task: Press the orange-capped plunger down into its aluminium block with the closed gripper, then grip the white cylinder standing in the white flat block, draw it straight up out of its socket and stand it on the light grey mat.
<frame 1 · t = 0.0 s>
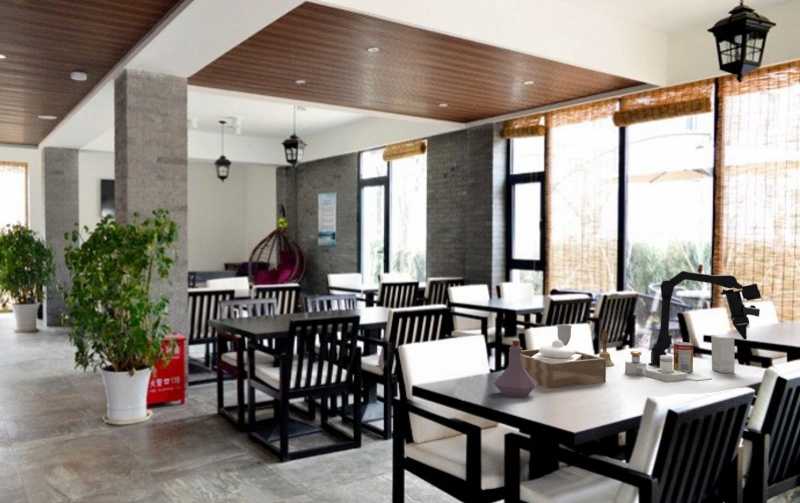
hand: (744, 337, 268), 15 cm above the table, tool pointing down, fingers open, 9 cm apart
butter dish: (555, 377, 256), resting in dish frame
flask: (515, 395, 228), on the table
skincare box: (722, 371, 272), on the table
hand bell: (604, 364, 285), on the table
mat: (694, 378, 258), on the table
chalice: (563, 364, 284), on the table
white flat block: (666, 377, 258), on the table
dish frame: (555, 377, 256), on the table
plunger: (635, 360, 265), point 6 cm above the table, slide at 0.0 cm
plunger block: (635, 373, 265), on the table
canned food: (683, 370, 273), on the table
white cylinder: (666, 366, 258), in the white flat block
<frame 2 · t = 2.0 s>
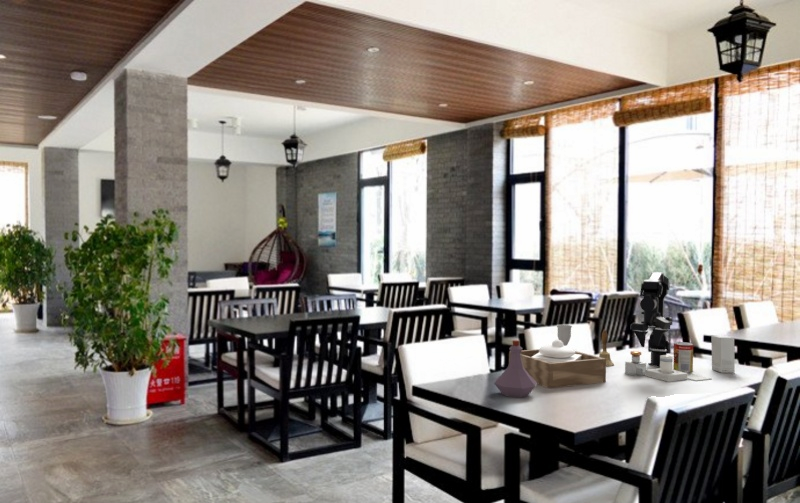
hand: (650, 346, 260), 13 cm above the table, tool pointing down, fingers open, 9 cm apart
nothing on the table moved.
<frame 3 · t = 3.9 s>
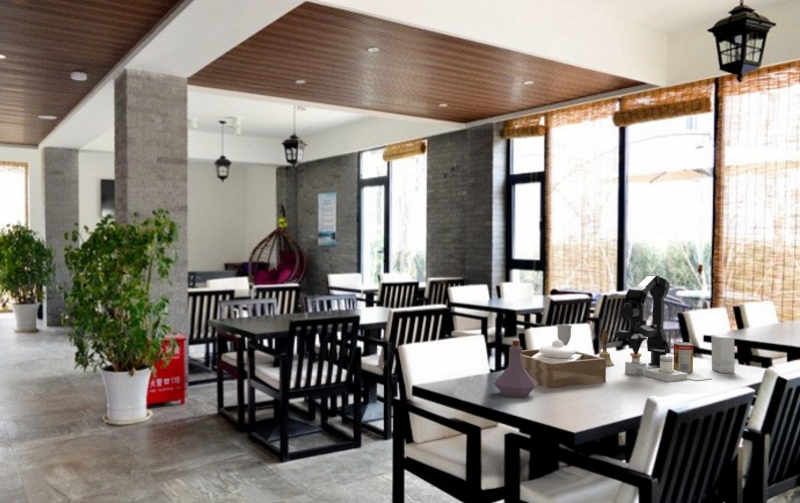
hand: (635, 353, 265), 9 cm above the table, tool pointing down, fingers closed, pressing on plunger
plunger: (635, 361, 265), point 5 cm above the table, slide at 0.7 cm, touching gripper
everything else where it was.
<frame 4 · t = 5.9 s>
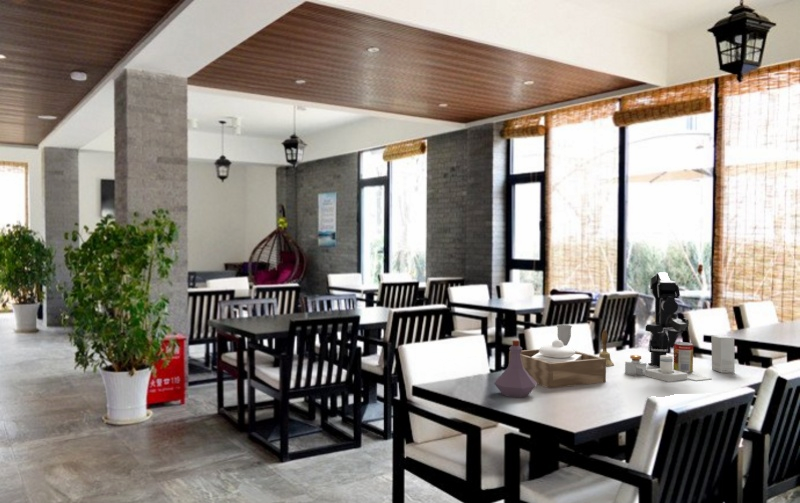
hand: (666, 347, 258), 12 cm above the table, tool pointing down, fingers open, 6 cm apart
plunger: (635, 364, 265), point 4 cm above the table, slide at 1.7 cm
everything else where it was.
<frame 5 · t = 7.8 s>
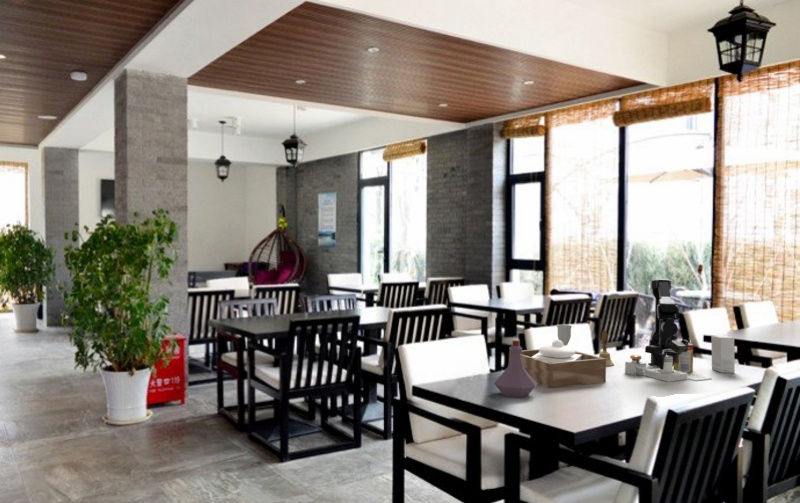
hand: (666, 369, 258), 4 cm above the table, tool pointing down, fingers closed on white cylinder, 5 cm apart
white cylinder: (666, 366, 258), in the white flat block, touching gripper
everything else where it was.
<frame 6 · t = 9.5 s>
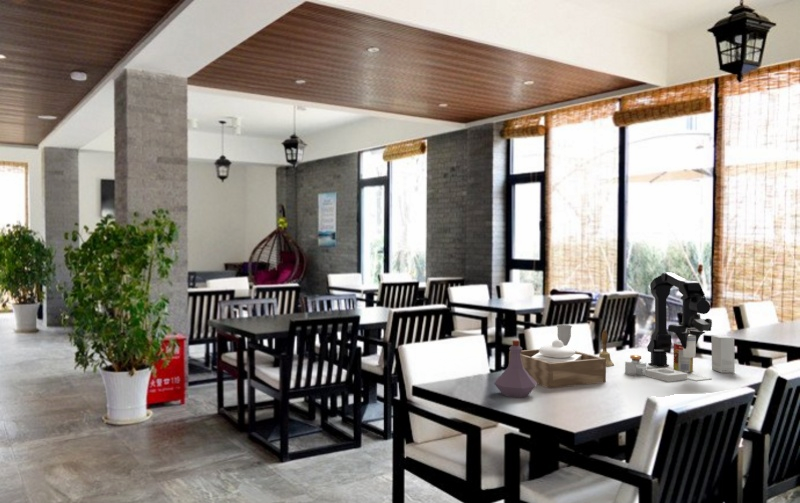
hand: (689, 348, 258), 13 cm above the table, tool pointing down, fingers closed on white cylinder, 5 cm apart
white cylinder: (689, 345, 257), point 14 cm above the table, touching gripper
everything else where it was.
when the fingers open (5 cm above the table, at t = 11.5 s): white cylinder stays where it is, resting on mat.
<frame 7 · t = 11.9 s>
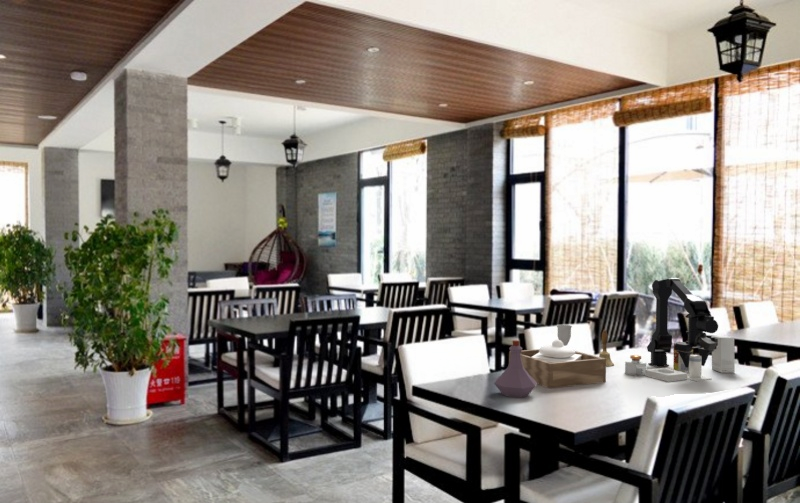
hand: (695, 366, 258), 5 cm above the table, tool pointing down, fingers open, 9 cm apart
white cylinder: (695, 366, 258), on the mat
everything else where it was.
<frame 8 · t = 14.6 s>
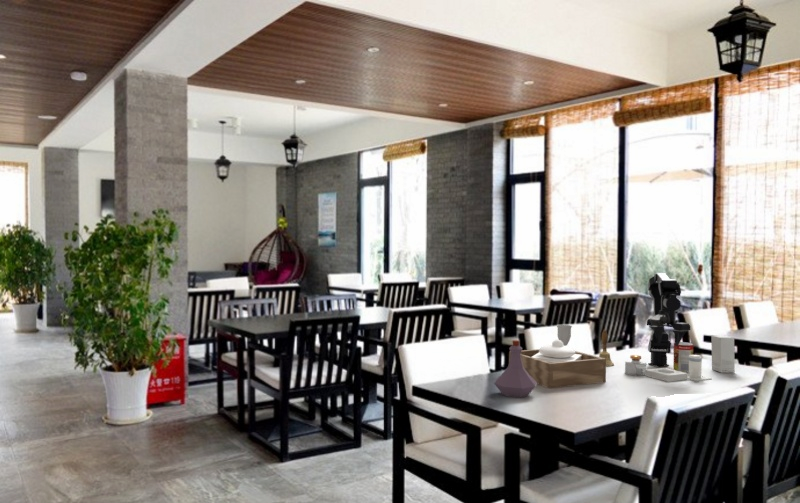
hand: (667, 344, 264), 13 cm above the table, tool pointing down, fingers open, 9 cm apart
nothing on the table moved.
at the end: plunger slide at 1.7 cm; white cylinder inside the target area on the mat (0.0 cm from its centre), point 4.9 cm above the mat's base; white cylinder tilted 0° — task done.
